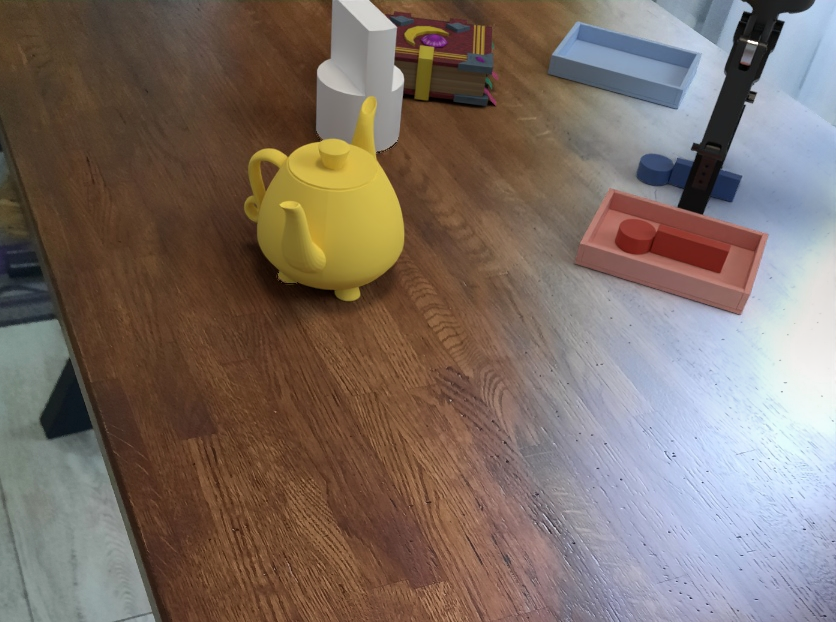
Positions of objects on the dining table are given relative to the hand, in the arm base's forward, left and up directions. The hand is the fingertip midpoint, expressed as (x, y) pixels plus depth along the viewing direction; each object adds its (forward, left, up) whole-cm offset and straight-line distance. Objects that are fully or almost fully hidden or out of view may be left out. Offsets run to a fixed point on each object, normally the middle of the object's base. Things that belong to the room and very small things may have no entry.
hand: (699, 187), depth 99 cm
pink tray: (0, +15, 0) cm, 15 cm away
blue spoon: (+2, 0, 0) cm, 2 cm away
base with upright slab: (+36, +9, 0) cm, 37 cm away
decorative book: (+34, -7, 0) cm, 35 cm away
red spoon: (0, +15, 0) cm, 15 cm away
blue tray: (+14, -22, 0) cm, 27 cm away
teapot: (+29, +33, 0) cm, 44 cm away
